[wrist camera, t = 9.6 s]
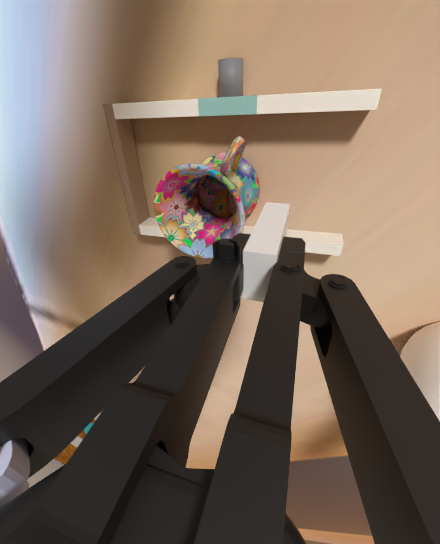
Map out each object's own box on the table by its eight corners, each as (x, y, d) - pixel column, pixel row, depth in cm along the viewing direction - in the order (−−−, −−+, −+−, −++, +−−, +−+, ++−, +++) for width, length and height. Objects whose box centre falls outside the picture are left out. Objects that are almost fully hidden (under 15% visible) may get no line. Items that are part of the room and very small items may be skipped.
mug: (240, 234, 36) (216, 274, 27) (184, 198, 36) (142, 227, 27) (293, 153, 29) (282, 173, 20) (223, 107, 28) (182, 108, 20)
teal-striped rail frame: (113, 73, 30) (93, 70, 27) (385, 47, 22) (394, 40, 20) (148, 243, 42) (137, 252, 39) (334, 265, 34) (335, 278, 31)
